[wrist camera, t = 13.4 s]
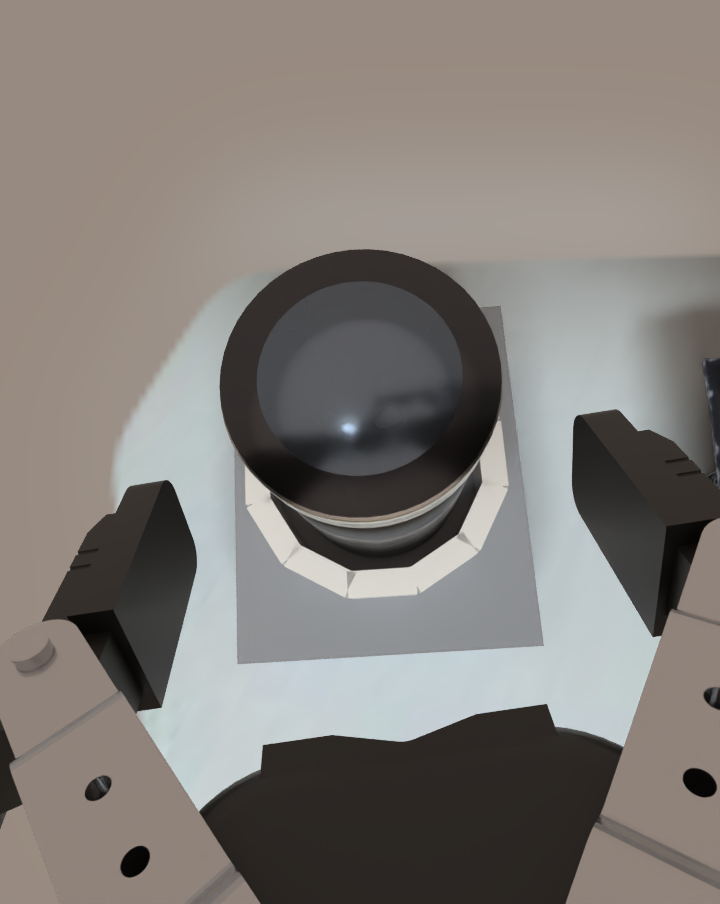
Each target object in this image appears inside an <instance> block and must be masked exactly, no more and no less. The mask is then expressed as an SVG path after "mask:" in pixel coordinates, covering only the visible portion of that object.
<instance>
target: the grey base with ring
mask: <svg viewBox="0 0 720 904" xmlns="http://www.w3.org/2000/svg"><path fill="white" fill-rule="evenodd" d="M480 310H481V311H482V312H483V314H484V316H485V317H486V319H487V321H488V323H489V325H490V327H491V329H492V332H493V335H494V337H495V340H496V343H497V346H498V350H499V354H500V359H501V364H502V375H503V392H502V403H501V408H500V412H499V416H498V421H497V423H496V426H495V428H494V431H493V434H492V436H491V439H490V441H489V443H488V445H487V446H486V448H485V450H484V452H483V454H482V456H481V458H480V460H479V461H478V463H477V465H476V467H475V468H474V470H473V471H472V472H471V474H470V475H469V477H468V479H467V481H466V483H465V485H464V487H463V489H462V491H461V493H460V495H459V497H458V499H457V501H456V503H455V505H454V507H453V509H452V511H451V513H450V515H449V517H448V518H447V520H446V522H445V523H444V525H443V526H442V527H441V529H440V530H439V531H438V532H437V533H436V534H435V535H434V536H433V537H432V538H431V539H429V540H428V541H427V542H426V543H424V544H423V545H421V546H419V547H418V548H416V549H414V550H412V551H409V552H407V553H404V554H400V555H397V556H391V557H367V556H361V555H358V554H354V553H351V552H349V551H346V550H344V549H342V548H340V547H339V546H337V545H335V544H334V543H332V542H331V541H330V540H329V539H327V538H326V537H325V536H324V535H323V534H322V533H320V532H319V531H318V530H317V529H316V528H315V527H314V526H313V525H311V524H310V523H309V522H308V521H307V520H306V519H305V518H304V517H302V516H301V515H300V514H299V513H298V512H297V511H296V510H295V509H293V508H291V507H290V506H288V505H287V504H285V503H284V502H283V501H282V500H280V499H279V498H278V497H276V496H275V495H274V494H273V493H272V492H271V491H269V490H268V489H267V488H266V487H265V486H264V485H263V484H262V483H261V482H260V481H259V480H258V479H257V478H256V477H255V476H254V475H253V474H252V473H251V472H250V471H249V469H248V468H247V467H246V465H245V464H244V463H243V461H242V460H241V459H240V457H239V455H238V453H237V452H236V450H235V515H236V586H237V658H238V664H248V663H264V662H281V661H298V660H314V659H331V658H347V657H364V656H381V655H397V654H414V653H430V652H447V651H464V650H480V649H497V648H514V647H530V646H544V644H543V637H542V629H541V621H540V613H539V605H538V597H537V590H536V582H535V574H534V566H533V558H532V550H531V542H530V535H529V527H528V519H527V511H526V503H525V495H524V488H523V480H522V472H521V464H520V456H519V448H518V440H517V433H516V425H515V417H514V409H513V401H512V393H511V385H510V378H509V370H508V362H507V354H506V346H505V338H504V331H503V323H502V315H501V307H500V306H496V307H484V308H480Z"/></svg>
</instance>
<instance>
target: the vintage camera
mask: <svg viewBox="0 0 720 904" xmlns="http://www.w3.org/2000/svg"><path fill="white" fill-rule="evenodd" d="M702 366H703V373H704V380H705V387H706V393H707V400H708V407H709V415H710V422H711V430H712V437H713V446H714V455H715V464H716V471H714V472H712V473H710V474H707V475H706V476H707V477H708V478H709V479H710V480H711V481H712V482H713V483H714V484H715V485H716V486H717V487H718V488H719V489H720V358H705V359H704V360H703V361H702Z"/></svg>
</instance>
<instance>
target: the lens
mask: <svg viewBox="0 0 720 904" xmlns="http://www.w3.org/2000/svg"><path fill="white" fill-rule="evenodd" d="M502 392H503V375H502V364H501V359H500V354H499V350H498V346H497V343H496V340H495V337H494V335H493V332H492V329H491V327H490V325H489V323H488V321H487V319H486V317H485V316H484V314H483V312H482V311H481V310H480V308H479V307H478V305H477V304H476V302H475V301H474V300H473V299H472V298H471V297H470V295H469V294H468V293H467V292H466V291H465V290H464V289H463V288H462V287H461V286H460V285H459V284H457V283H456V282H455V281H454V280H453V279H451V278H450V277H449V276H447V275H446V274H444V273H443V272H441V271H440V270H438V269H437V268H435V267H433V266H431V265H429V264H427V263H425V262H423V261H420V260H418V259H415V258H412V257H409V256H406V255H403V254H398V253H394V252H389V251H382V250H381V251H380V250H369V249H368V250H367V249H365V250H348V251H341V252H334V253H330V254H326V255H323V256H319V257H316V258H313V259H311V260H308V261H306V262H303V263H301V264H299V265H297V266H295V267H293V268H292V269H290V270H288V271H286V272H284V273H283V274H282V275H280V276H279V277H277V278H276V279H275V280H273V281H272V282H270V283H269V284H268V285H267V286H266V287H265V288H264V289H263V290H262V291H261V292H259V293H258V294H257V296H256V297H255V298H254V299H253V300H252V301H251V303H250V304H249V305H248V306H247V307H246V309H245V310H244V312H243V313H242V315H241V316H240V318H239V319H238V321H237V323H236V325H235V327H234V329H233V331H232V333H231V335H230V337H229V340H228V343H227V346H226V349H225V352H224V356H223V361H222V366H221V373H220V398H221V409H222V413H223V418H224V422H225V426H226V429H227V432H228V434H229V437H230V440H231V442H232V444H233V446H234V448H235V450H236V452H237V453H238V455H239V457H240V459H241V460H242V461H243V463H244V464H245V465H246V467H247V468H248V469H249V471H250V472H251V473H252V474H253V475H254V476H255V477H256V478H257V479H258V480H259V481H260V482H261V483H262V484H263V485H264V486H265V487H266V488H267V489H268V490H269V491H271V492H272V493H273V494H274V495H275V496H276V497H278V498H279V499H280V500H282V501H283V502H284V503H285V504H287V505H288V506H290V507H291V508H293V509H295V510H296V511H297V512H298V513H299V514H300V515H301V516H302V517H304V518H305V519H306V520H307V521H308V522H309V523H310V524H311V525H313V526H314V527H315V528H316V529H317V530H318V531H319V532H320V533H322V534H323V535H324V536H325V537H326V538H327V539H329V540H330V541H331V542H332V543H334V544H335V545H337V546H339V547H340V548H342V549H344V550H346V551H349V552H351V553H354V554H358V555H361V556H367V557H391V556H397V555H400V554H404V553H407V552H409V551H412V550H414V549H416V548H418V547H419V546H421V545H423V544H424V543H426V542H427V541H428V540H429V539H431V538H432V537H433V536H434V535H435V534H436V533H437V532H438V531H439V530H440V529H441V527H442V526H443V525H444V523H445V522H446V520H447V518H448V517H449V515H450V513H451V511H452V509H453V507H454V505H455V503H456V501H457V499H458V497H459V495H460V493H461V491H462V489H463V487H464V485H465V483H466V481H467V479H468V477H469V475H470V474H471V472H472V471H473V470H474V468H475V467H476V465H477V463H478V461H479V460H480V458H481V456H482V454H483V452H484V450H485V448H486V446H487V445H488V443H489V441H490V439H491V436H492V434H493V431H494V428H495V426H496V423H497V421H498V416H499V412H500V408H501V403H502Z"/></svg>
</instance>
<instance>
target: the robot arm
mask: <svg viewBox="0 0 720 904" xmlns="http://www.w3.org/2000/svg"><path fill="white" fill-rule="evenodd" d="M572 489H573V496H574V500H575V504H576V507H577V509H578V512H579V514H580V515H581V517H582V519H583V520H584V522H585V524H586V525H587V527H588V529H589V530H590V532H591V534H592V536H593V537H594V539H595V541H596V542H597V544H598V546H599V547H600V549H601V551H602V552H603V554H604V556H605V557H606V559H607V561H608V562H609V564H610V566H611V567H612V569H613V571H614V573H615V574H616V576H617V578H618V579H619V581H620V583H621V584H622V586H623V588H624V589H625V591H626V593H627V594H628V596H629V598H630V599H631V601H632V603H633V605H634V606H635V608H636V610H637V611H638V613H639V615H640V616H641V618H642V620H643V621H644V623H645V625H646V626H647V628H648V630H649V631H650V633H651V635H652V636H653V637H656V636H661V639H660V642H659V645H658V648H657V651H656V654H655V657H654V660H653V663H652V666H651V669H650V672H649V675H648V678H647V680H646V683H645V686H644V689H643V692H642V695H641V698H640V701H639V704H638V707H637V710H636V713H635V716H634V719H633V722H632V725H631V728H630V731H629V733H628V736H627V739H626V742H625V745H624V747H622V746H621V745H618V744H616V743H614V742H611V741H609V740H607V739H604V738H602V737H599V736H596V735H593V734H589V733H586V732H583V731H578V730H573V729H568V728H561V727H555V726H554V723H553V720H552V717H551V715H550V712H549V709H548V706H547V704H544V705H537V706H530V707H523V708H516V709H509V710H502V711H496V712H489V713H482V714H476V715H473V716H471V717H468V718H466V719H463V720H461V721H458V722H456V723H453V724H451V725H448V726H446V727H443V728H441V729H438V730H436V731H434V732H431V733H429V734H426V735H424V736H421V737H419V738H416V739H414V740H410V741H406V742H396V741H385V740H375V739H365V738H355V737H345V736H335V735H330V736H323V737H316V738H309V739H303V740H296V741H289V742H282V743H275V744H268V745H263V751H262V763H261V770H258V771H256V772H254V773H251V774H249V775H248V776H246V777H244V778H242V779H240V780H238V781H236V782H235V783H233V784H232V785H230V786H229V787H228V788H226V789H225V790H223V791H222V792H220V793H219V794H218V795H217V796H215V797H214V798H213V799H212V800H211V801H209V802H208V803H207V804H206V805H205V806H204V807H203V808H202V809H201V810H200V811H198V810H197V808H196V807H195V805H194V804H193V802H192V800H191V799H190V797H189V796H188V794H187V793H186V791H185V790H184V788H183V786H182V785H181V783H180V782H179V780H178V779H177V777H176V776H175V774H174V772H173V771H172V769H171V768H170V766H169V765H168V763H167V762H166V760H165V759H164V757H163V755H162V754H161V752H160V751H159V749H158V748H157V746H156V745H155V743H154V741H153V740H152V738H151V737H150V735H149V734H148V732H147V731H146V729H145V727H144V726H143V724H142V723H141V721H140V720H139V718H138V717H137V715H136V713H137V711H142V710H149V709H156V708H162V704H163V700H164V696H165V692H166V688H167V684H168V680H169V676H170V672H171V668H172V664H173V660H174V656H175V652H176V648H177V645H178V641H179V637H180V633H181V629H182V625H183V621H184V617H185V613H186V609H187V605H188V601H189V597H190V593H191V589H192V586H193V582H194V578H195V574H196V568H197V555H196V548H195V544H194V540H193V537H192V535H191V532H190V529H189V527H188V524H187V521H186V519H185V516H184V513H183V511H182V508H181V505H180V503H179V500H178V497H177V494H176V492H175V489H174V487H173V485H172V484H171V483H170V482H169V481H168V480H165V481H159V482H152V483H146V484H140V485H134V486H130V487H128V488H127V490H126V492H125V494H124V496H123V498H122V501H121V503H120V505H119V507H118V509H117V511H116V513H114V514H108V515H106V516H105V517H104V518H102V519H101V521H99V522H98V523H97V524H96V525H95V526H94V527H93V528H92V529H91V530H90V531H89V532H88V533H87V535H86V537H85V539H84V541H83V543H82V545H81V547H80V549H79V551H78V555H76V556H75V558H74V560H73V562H72V564H71V566H70V571H68V572H67V574H66V576H65V578H64V580H63V582H62V584H61V586H60V588H59V589H58V592H57V593H56V595H55V597H54V599H53V601H52V603H51V605H50V607H49V609H48V611H47V613H46V615H45V617H44V619H43V620H42V622H40V623H37V624H35V625H32V626H29V627H27V628H25V629H24V630H22V631H20V632H18V633H17V634H15V635H14V636H12V637H11V638H10V639H8V640H7V641H6V642H5V643H4V644H2V645H1V646H0V828H1V825H2V823H3V820H4V817H5V815H6V812H7V811H9V810H11V809H13V808H15V807H18V806H20V805H22V804H23V806H24V809H25V811H26V814H27V817H28V820H29V822H30V825H31V828H32V830H33V833H34V836H35V838H36V841H37V843H38V847H39V849H40V852H41V855H42V857H43V860H44V863H45V866H46V868H47V871H48V874H49V876H50V879H51V882H52V884H53V887H54V890H55V893H56V895H57V898H58V901H59V903H60V904H720V489H719V488H718V487H717V486H716V485H715V484H714V483H713V482H712V481H711V480H710V479H709V478H708V477H707V476H706V475H705V474H704V473H703V474H702V473H701V470H700V469H699V468H698V467H697V466H696V465H695V463H694V462H693V461H692V460H690V461H689V459H688V456H687V455H686V454H685V453H684V452H683V451H682V450H681V449H680V448H679V447H678V446H677V445H676V444H675V443H674V442H673V441H671V440H669V439H667V438H665V437H663V436H661V435H659V434H657V433H655V432H653V431H651V430H644V431H637V430H636V429H635V428H634V427H633V425H632V424H631V423H630V422H629V421H628V420H627V419H626V418H625V417H624V415H623V414H622V413H621V412H620V411H619V410H616V409H615V410H609V411H602V412H596V413H590V414H583V415H578V416H576V418H575V420H574V426H573V460H572Z"/></svg>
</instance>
